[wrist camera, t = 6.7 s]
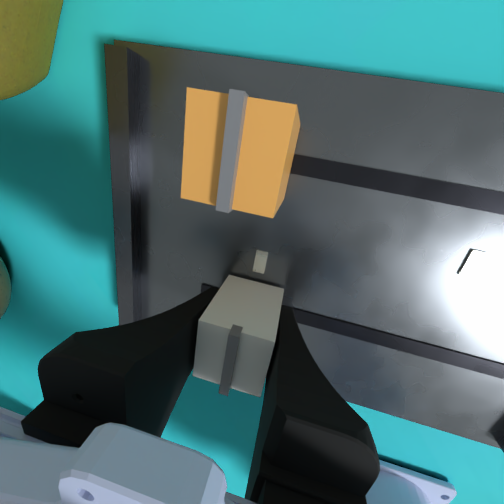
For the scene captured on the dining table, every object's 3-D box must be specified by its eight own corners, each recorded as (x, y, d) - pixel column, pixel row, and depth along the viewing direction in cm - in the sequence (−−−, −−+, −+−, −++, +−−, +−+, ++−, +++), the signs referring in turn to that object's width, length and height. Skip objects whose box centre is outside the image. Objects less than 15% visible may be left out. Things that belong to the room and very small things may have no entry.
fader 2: (272, 334, 14) (258, 406, 10) (222, 320, 14) (189, 383, 10) (284, 288, 13) (274, 347, 9) (229, 273, 13) (194, 324, 9)
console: (500, 431, 15) (528, 470, 13) (136, 322, 18) (117, 341, 16) (761, 140, 8) (889, 135, 7) (132, 51, 11) (99, 30, 10)
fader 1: (284, 199, 11) (271, 222, 7) (221, 186, 11) (175, 201, 7) (300, 123, 10) (297, 99, 6) (229, 111, 10) (181, 81, 6)
